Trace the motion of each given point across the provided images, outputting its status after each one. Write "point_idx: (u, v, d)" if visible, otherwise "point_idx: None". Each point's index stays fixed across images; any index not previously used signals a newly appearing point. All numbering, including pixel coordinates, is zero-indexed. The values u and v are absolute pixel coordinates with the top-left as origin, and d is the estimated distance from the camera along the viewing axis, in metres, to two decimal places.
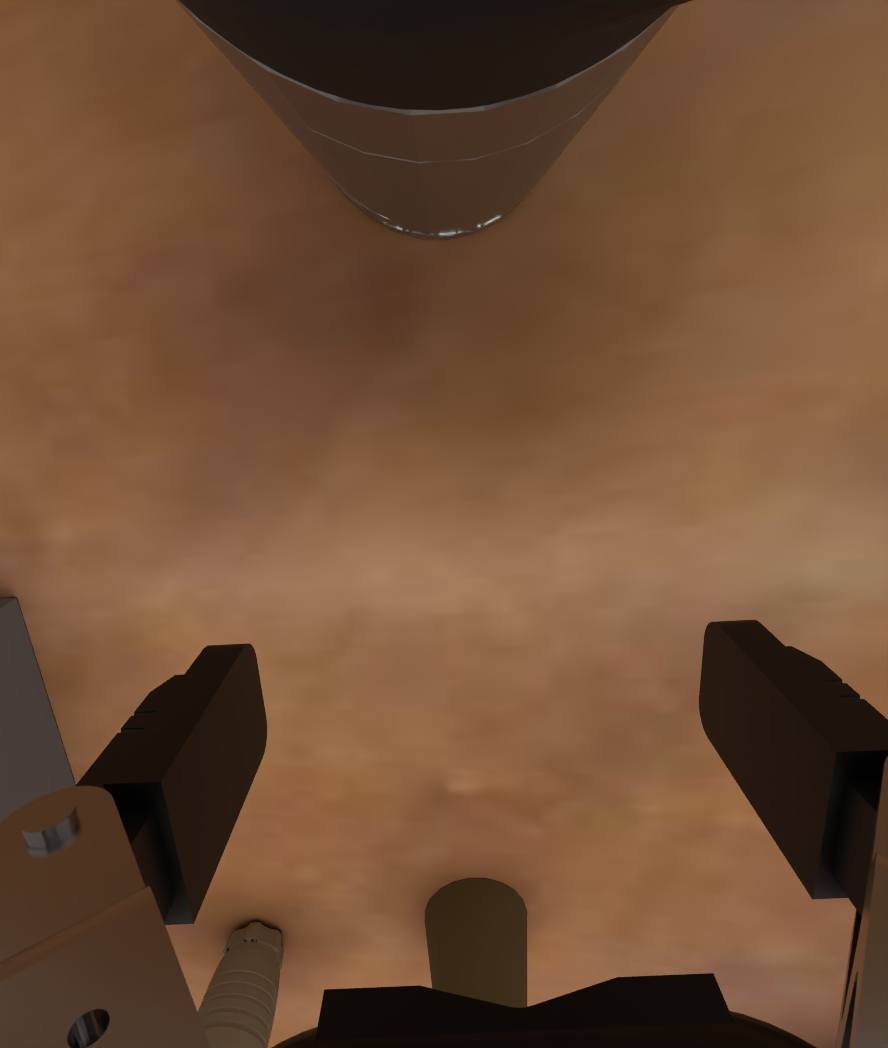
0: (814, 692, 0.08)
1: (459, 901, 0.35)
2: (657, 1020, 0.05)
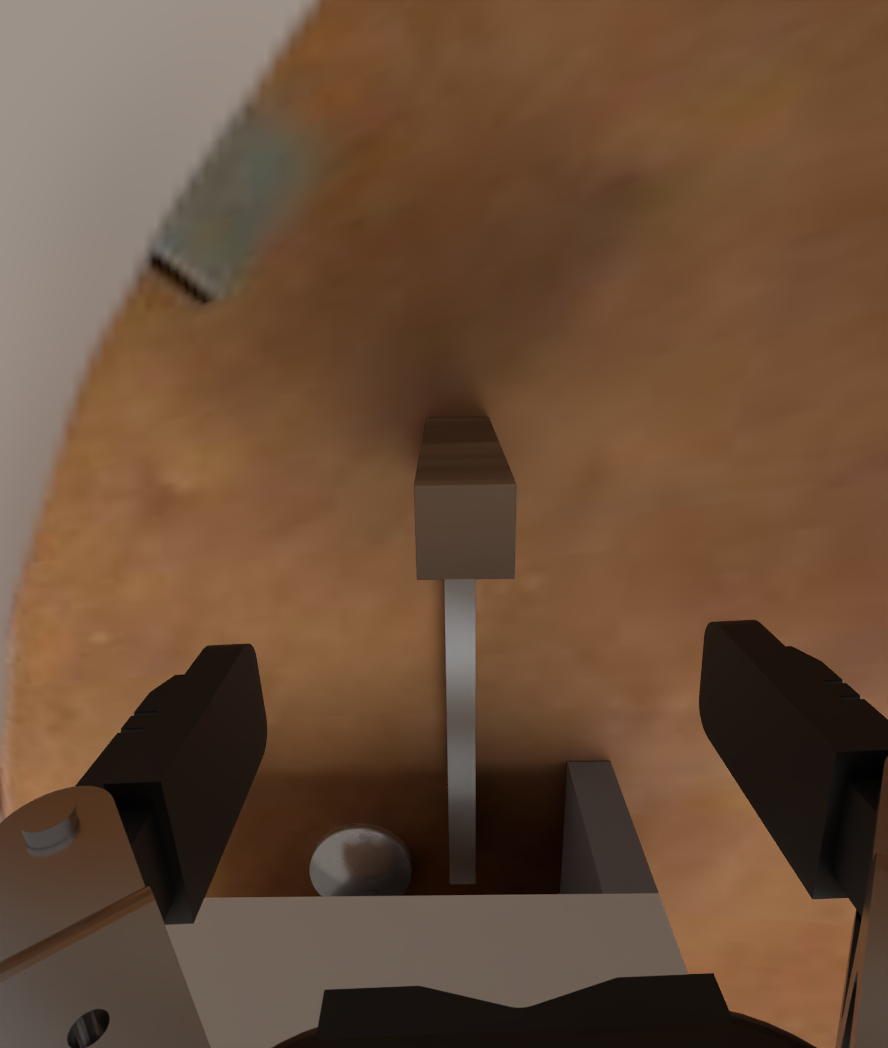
0: (814, 692, 0.08)
1: None
2: (657, 1020, 0.05)
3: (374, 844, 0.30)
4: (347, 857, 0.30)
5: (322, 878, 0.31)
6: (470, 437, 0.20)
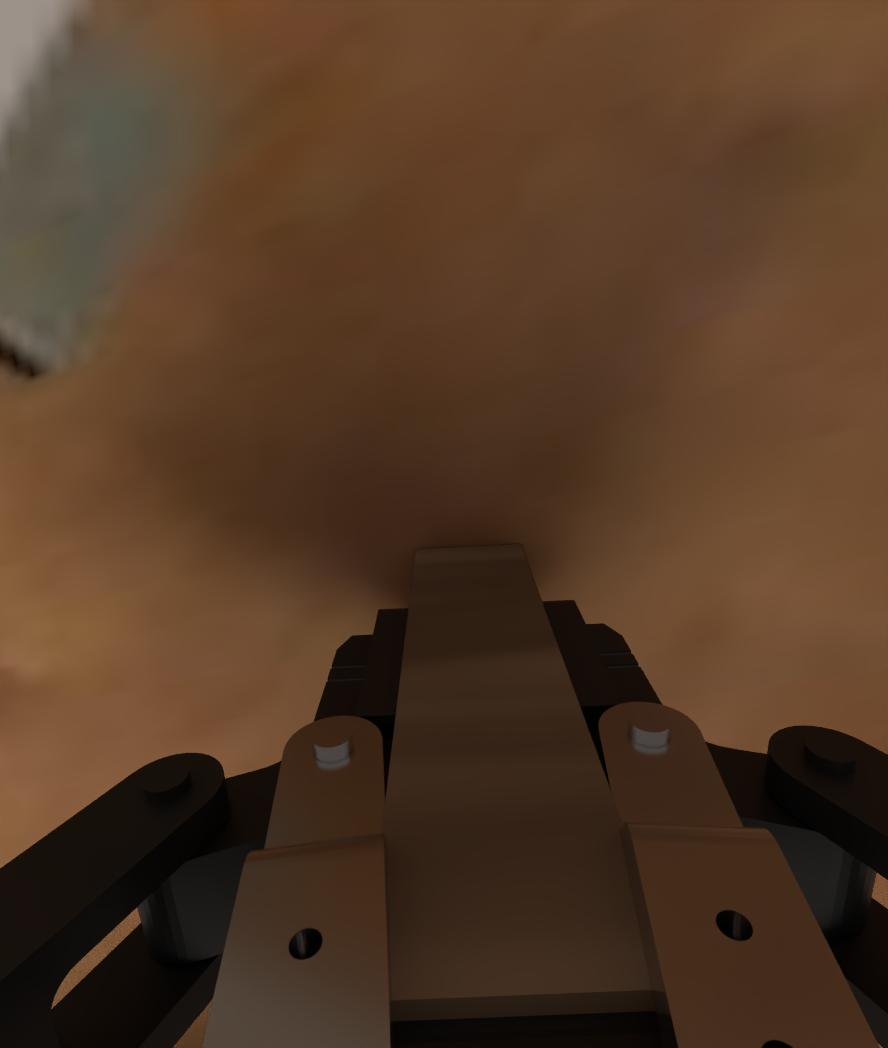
0: (585, 659, 0.09)
1: None
2: (657, 1020, 0.05)
3: None
4: None
5: None
6: (499, 629, 0.10)
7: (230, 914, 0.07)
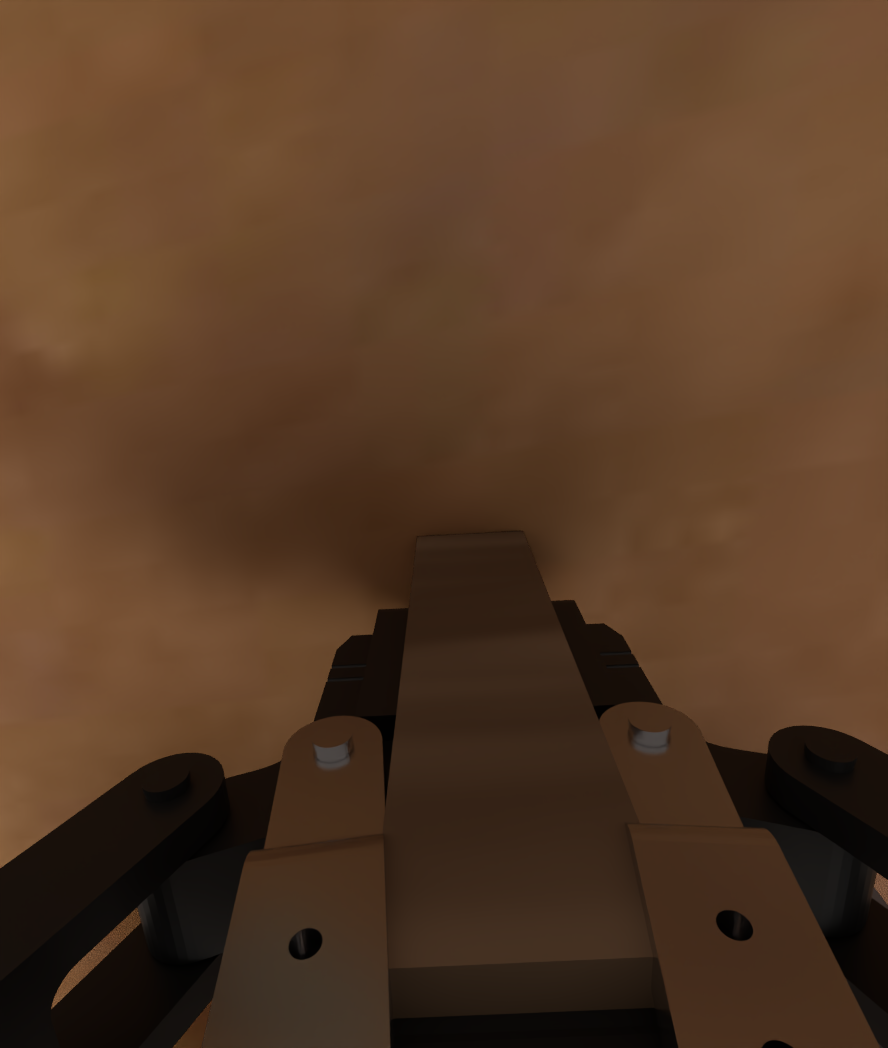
0: (585, 659, 0.09)
1: None
2: (657, 1020, 0.05)
3: None
4: None
5: None
6: (502, 612, 0.10)
7: (230, 914, 0.07)
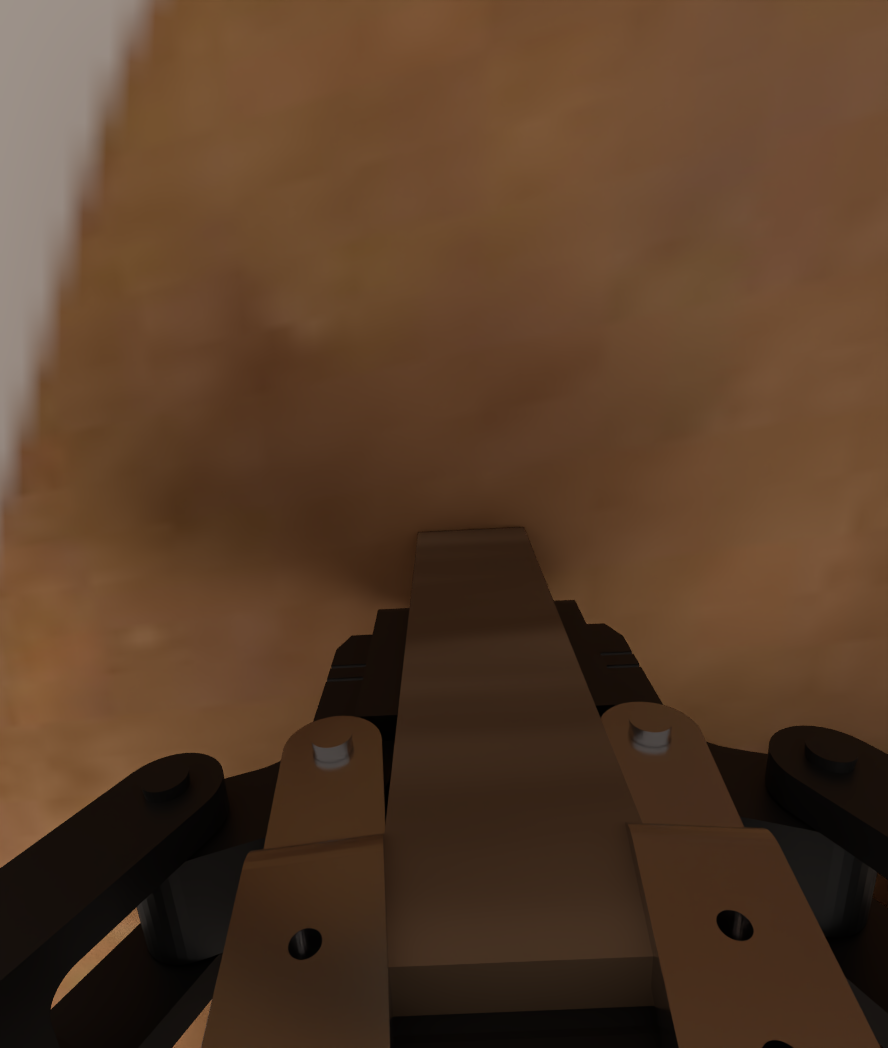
0: (585, 659, 0.09)
1: None
2: (657, 1020, 0.05)
3: None
4: None
5: None
6: (503, 609, 0.10)
7: (229, 914, 0.07)
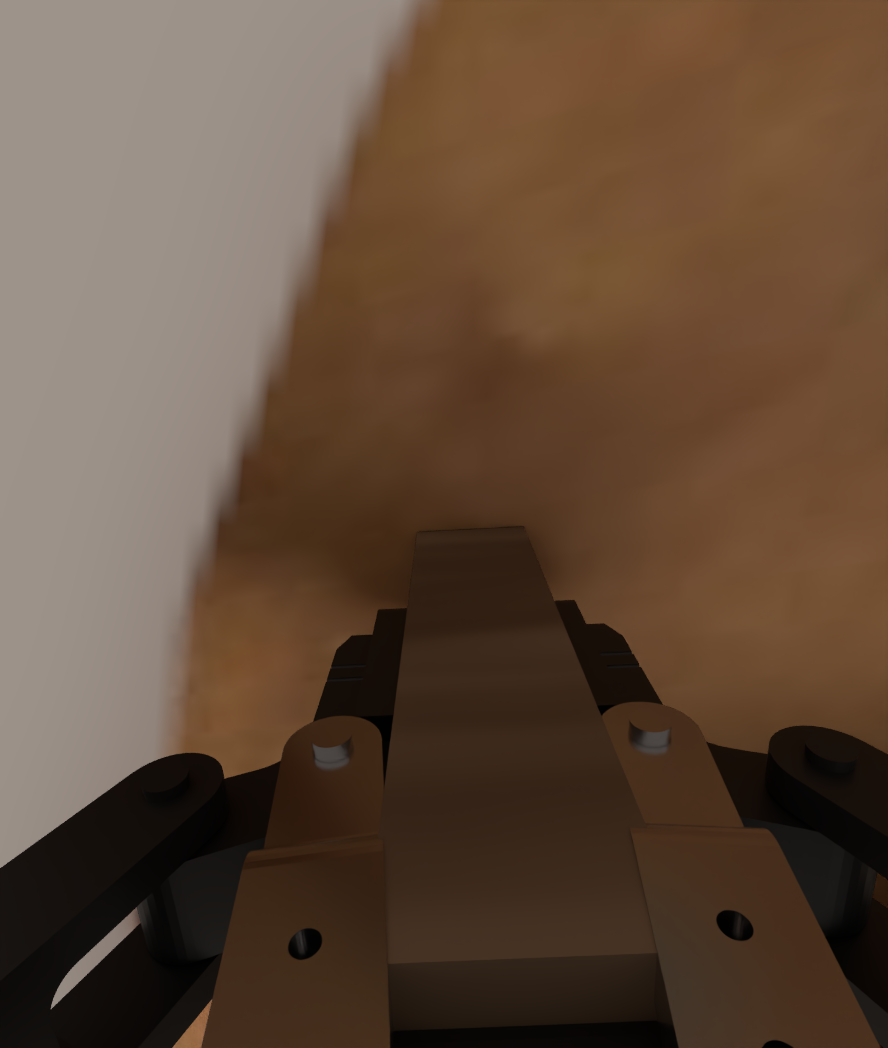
0: (585, 659, 0.09)
1: None
2: None
3: None
4: None
5: None
6: (502, 606, 0.10)
7: (230, 914, 0.07)
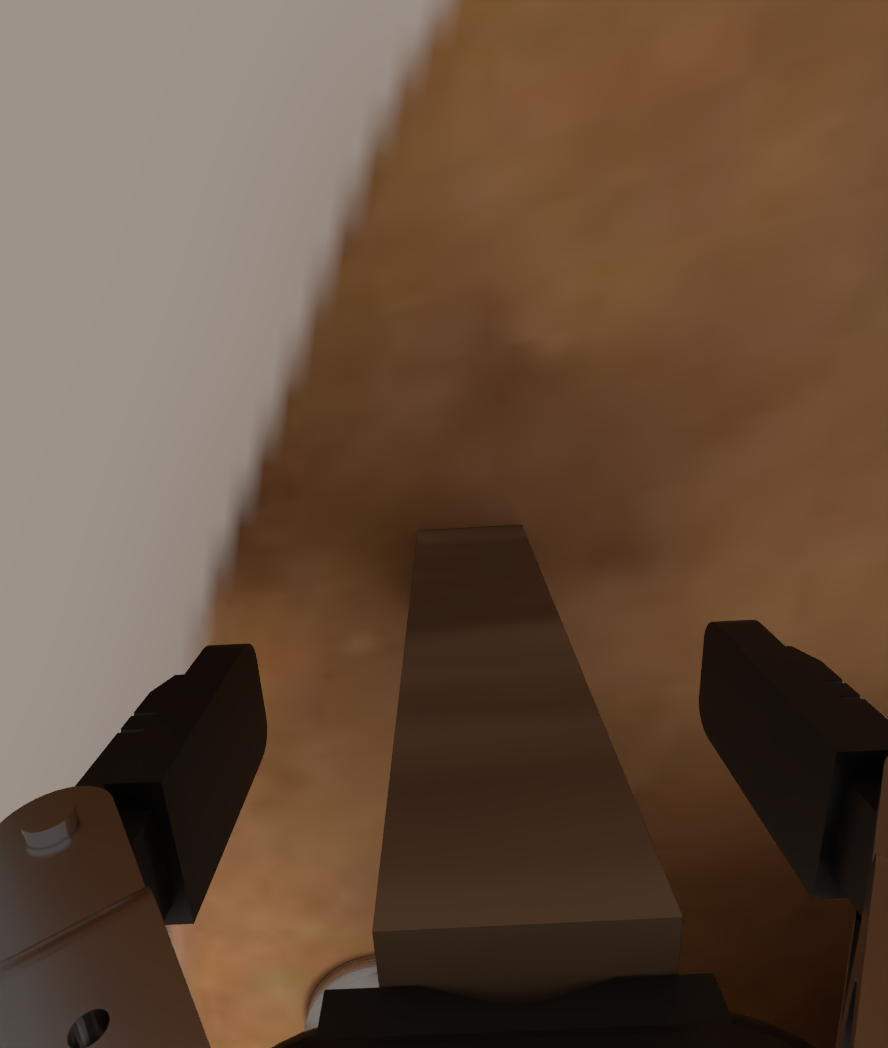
0: (814, 692, 0.08)
1: None
2: (657, 1020, 0.05)
3: None
4: None
5: None
6: (501, 602, 0.10)
7: None
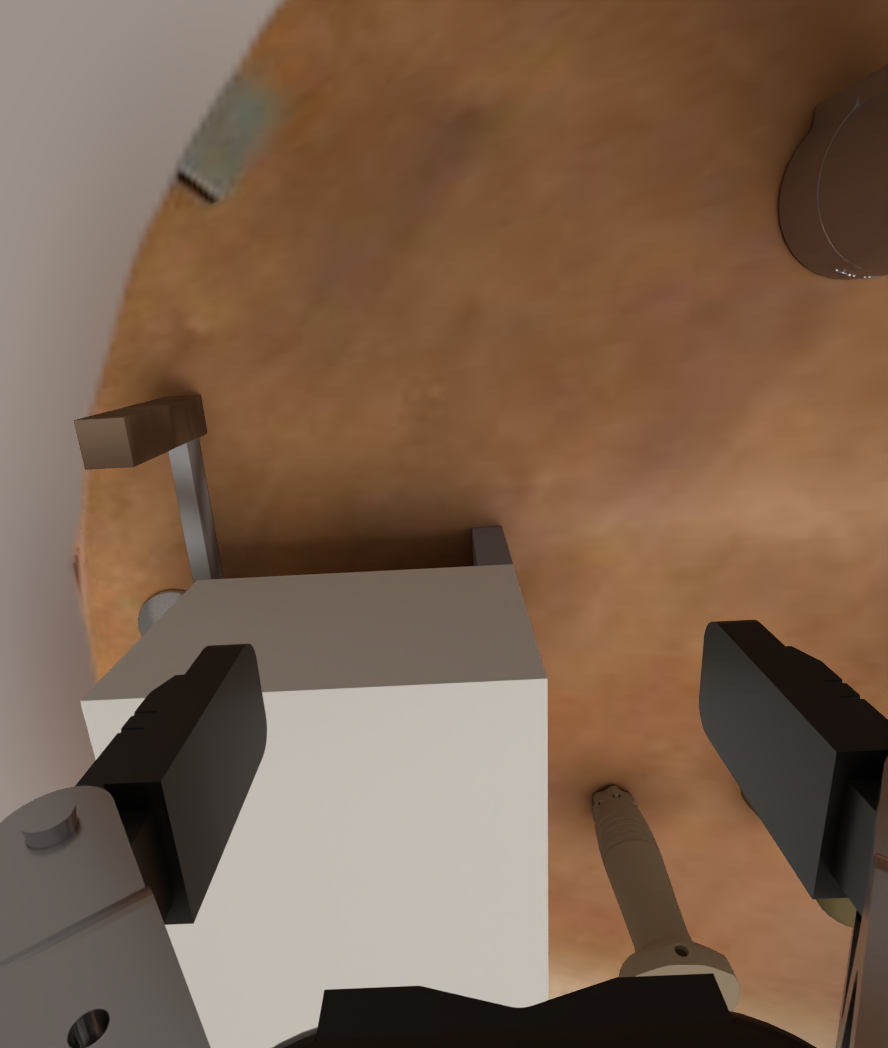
0: (814, 692, 0.08)
1: None
2: (657, 1020, 0.05)
3: None
4: (164, 613, 0.43)
5: None
6: (159, 404, 0.35)
7: None
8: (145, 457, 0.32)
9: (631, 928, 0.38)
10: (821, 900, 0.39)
